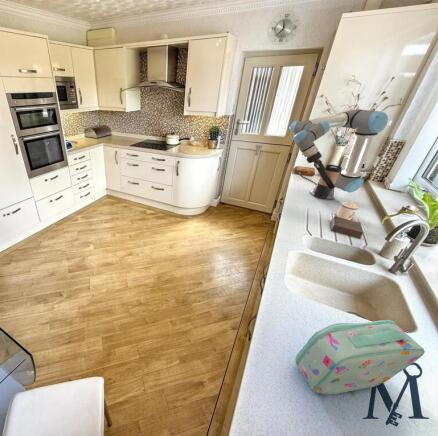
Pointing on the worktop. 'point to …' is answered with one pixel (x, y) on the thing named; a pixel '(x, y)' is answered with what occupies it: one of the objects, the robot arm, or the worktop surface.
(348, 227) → the block
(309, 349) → the lunch box
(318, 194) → the travel mug
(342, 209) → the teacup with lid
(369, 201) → the worktop surface
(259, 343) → the worktop surface
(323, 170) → the robot arm
